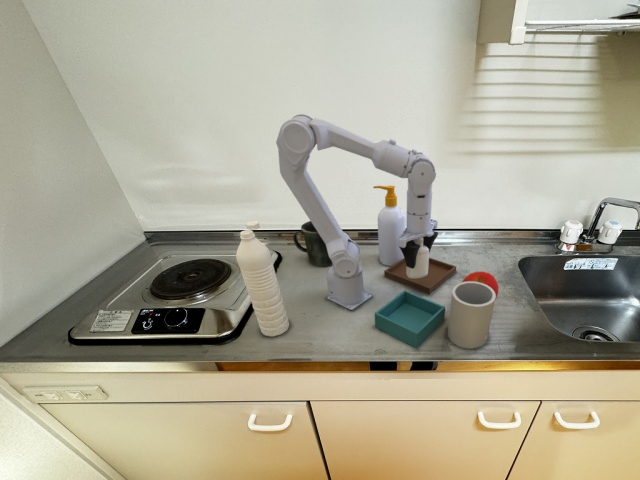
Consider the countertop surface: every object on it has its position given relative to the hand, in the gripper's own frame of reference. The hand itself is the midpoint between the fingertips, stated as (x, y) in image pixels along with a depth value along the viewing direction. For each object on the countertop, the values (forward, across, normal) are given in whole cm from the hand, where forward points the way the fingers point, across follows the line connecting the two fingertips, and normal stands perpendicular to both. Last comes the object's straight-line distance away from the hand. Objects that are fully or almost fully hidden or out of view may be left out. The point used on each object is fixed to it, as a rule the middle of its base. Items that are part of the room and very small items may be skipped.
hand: (417, 262), depth 81 cm
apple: (+10, +5, -16) cm, 20 cm away
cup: (+10, -6, -19) cm, 22 cm away
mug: (+11, -2, +37) cm, 39 cm away
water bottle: (+11, -31, +20) cm, 39 cm away
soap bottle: (+11, +12, +18) cm, 24 cm away
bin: (+10, -11, -6) cm, 16 cm away
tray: (+10, +10, +5) cm, 15 cm away
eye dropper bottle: (+4, 0, 0) cm, 4 cm away
